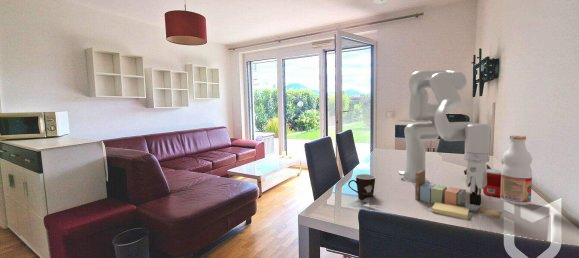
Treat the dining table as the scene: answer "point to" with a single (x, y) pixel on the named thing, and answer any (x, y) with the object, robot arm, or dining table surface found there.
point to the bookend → (462, 199)
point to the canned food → (493, 183)
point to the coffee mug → (364, 185)
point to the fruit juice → (516, 173)
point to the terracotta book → (451, 196)
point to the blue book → (426, 192)
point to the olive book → (438, 194)
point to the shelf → (421, 180)
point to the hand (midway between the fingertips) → (475, 204)
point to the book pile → (451, 210)
